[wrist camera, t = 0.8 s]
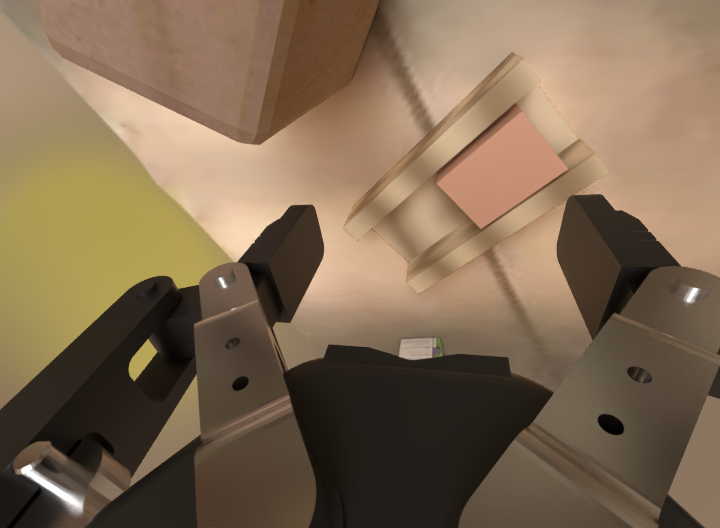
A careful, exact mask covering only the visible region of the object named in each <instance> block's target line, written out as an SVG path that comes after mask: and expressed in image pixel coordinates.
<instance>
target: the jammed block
mask: <svg viewBox="0 0 720 528" xmlns="http://www.w3.org/2000/svg"><path fill="white" fill-rule="evenodd" d="M566 170H568V168H567V167H566V165H565V164H564V163H563V162H562V160H561V159H560V158H559V157H558V155H557V154H556V153H555V152H554V150H553V149H552V148H551V147H550V145H549V144H548V143H547V142H546V140H545V139H544V138H543V137H542V135H541V134H540V133H539V132H538V130H537V129H536V128H535V127H534V125H533V124H532V123H531V122H530V120H529V119H528V118H527V117H526V115H525V114H524V113H523V112H522V110H521V109H520V108H519V107H518V106H517V105H516V103H515V104H514V105H513V106H511V107H510V108H509V109H508V110H507V111H506V112H505V113H503V114H502V115H501V116H500V117H499V118H498V119H496V120H495V121H494V122H493V123H492V124H491V125H490V126H488V127H487V128H486V129H485V130H484V131H483V132H482V133H480V134H479V135H478V136H477V137H476V138H475V139H474V140H472V141H471V142H470V143H469V144H468V145H467V146H465V147H464V148H463V149H462V150H461V151H460V152H459V153H457V154H456V155H455V156H454V157H453V158H452V159H451V160H449V161H448V162H447V163H446V164H445V165H444V166H443V167H441V168H440V169H439V170H438V171H437V184H438V185H439V187H440V188H441V189H442V190H443V191H444V192H445V193H446V194H447V195H448V196H449V197H450V198H451V199H452V200H453V201H454V202H455V203H456V204H457V205H458V206H459V207H460V208H461V209H462V210H463V211H464V212H465V213H466V214H467V215H468V216H469V217H470V218H471V219H472V220H473V221H474V223H475V224H476V225H477V226H478V227H479V228H480V229H482V228H483V227H485V226H486V225H488V224H489V223H491V222H492V221H494V220H495V219H496V218H498V217H499V216H501V215H502V214H504V213H505V212H507V211H508V210H510V209H511V208H512V207H514V206H515V205H517V204H518V203H520V202H521V201H523V200H524V199H526V198H527V197H528V196H530V195H531V194H533V193H534V192H536V191H537V190H539V189H540V188H542V187H543V186H544V185H546V184H547V183H549V182H550V181H552V180H553V179H555V178H556V177H558V176H559V175H560V174H562V173H563V172H565V171H566Z"/></svg>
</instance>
